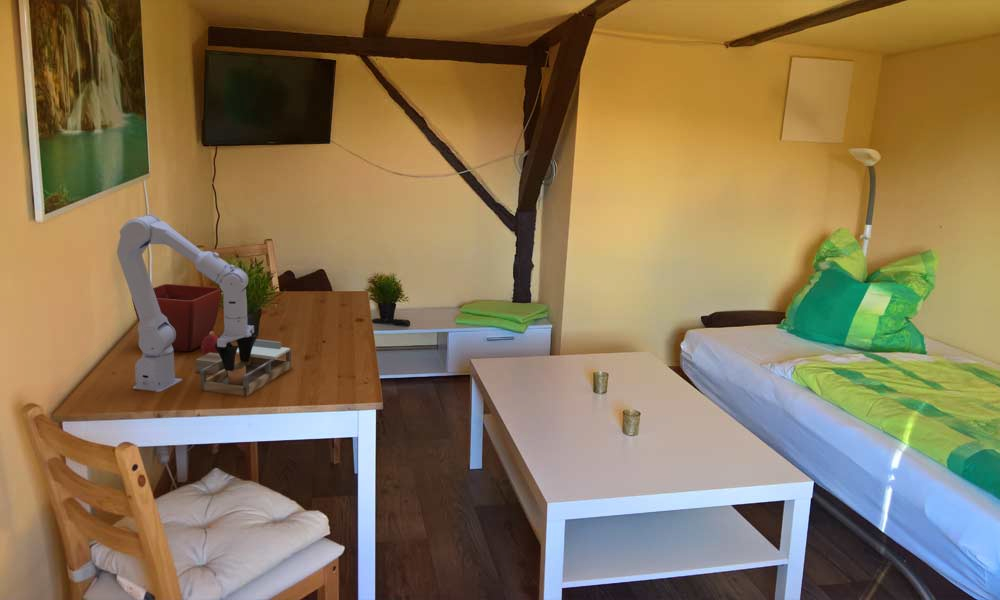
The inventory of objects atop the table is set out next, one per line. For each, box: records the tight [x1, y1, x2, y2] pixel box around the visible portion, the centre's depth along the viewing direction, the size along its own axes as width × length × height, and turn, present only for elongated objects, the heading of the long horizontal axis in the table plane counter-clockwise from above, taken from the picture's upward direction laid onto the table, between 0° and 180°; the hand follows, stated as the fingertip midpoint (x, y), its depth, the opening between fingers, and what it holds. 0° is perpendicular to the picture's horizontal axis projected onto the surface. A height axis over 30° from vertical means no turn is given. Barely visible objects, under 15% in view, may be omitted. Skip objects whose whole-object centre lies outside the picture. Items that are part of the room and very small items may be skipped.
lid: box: [236, 338, 291, 359], centre depth 204 cm, size 8×14×2 cm, turn 79°
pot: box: [228, 364, 246, 386], centre depth 194 cm, size 4×4×5 cm
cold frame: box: [199, 350, 292, 397], centre depth 199 cm, size 24×13×6 cm, turn 169°
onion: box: [200, 330, 220, 355], centre depth 215 cm, size 6×6×8 cm
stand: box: [194, 353, 225, 375], centre depth 204 cm, size 7×7×4 cm
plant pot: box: [131, 283, 222, 352], centre depth 224 cm, size 19×19×17 cm
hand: (237, 365), depth 193 cm, fingers open, 7 cm apart
